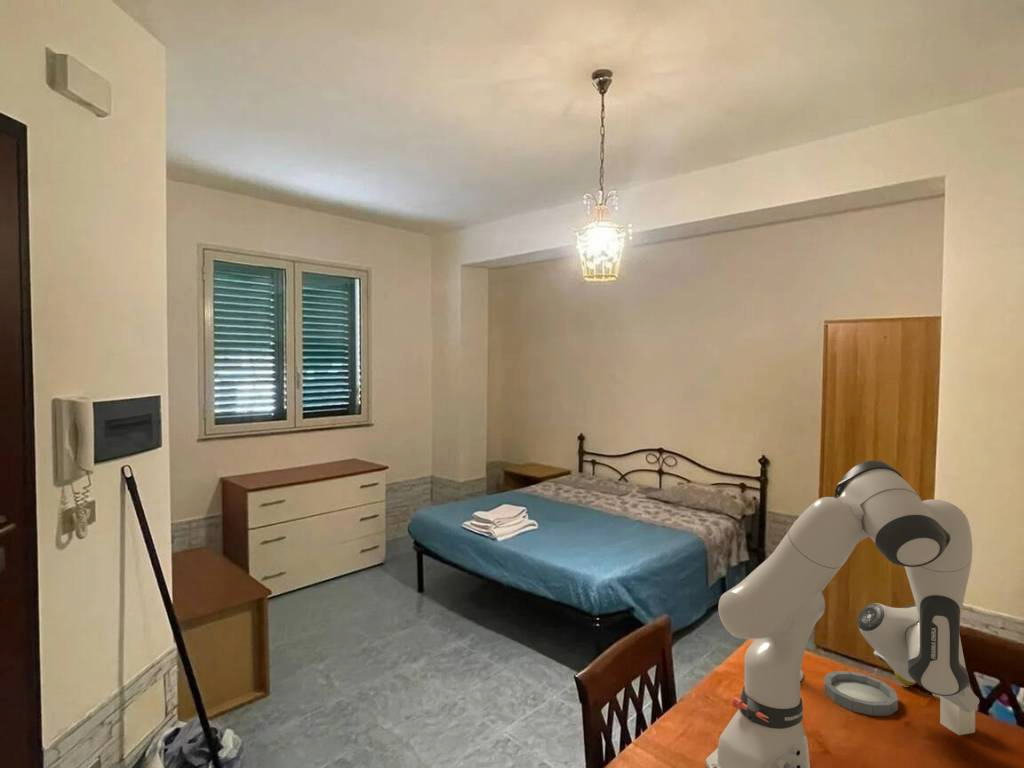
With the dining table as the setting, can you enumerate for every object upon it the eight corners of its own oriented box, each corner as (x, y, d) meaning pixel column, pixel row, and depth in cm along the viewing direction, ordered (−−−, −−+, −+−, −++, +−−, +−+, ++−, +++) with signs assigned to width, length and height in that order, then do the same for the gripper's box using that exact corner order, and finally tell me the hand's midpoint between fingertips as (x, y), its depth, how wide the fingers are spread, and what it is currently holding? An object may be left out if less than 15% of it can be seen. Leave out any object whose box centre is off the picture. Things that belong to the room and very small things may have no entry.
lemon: (911, 681, 154) (911, 652, 154) (923, 692, 148) (923, 662, 148) (889, 680, 155) (889, 651, 154) (901, 691, 149) (901, 661, 149)
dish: (877, 723, 135) (877, 712, 135) (812, 691, 149) (812, 682, 149) (909, 702, 144) (909, 692, 144) (844, 674, 157) (844, 665, 157)
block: (959, 735, 131) (959, 701, 131) (940, 723, 135) (940, 690, 135) (975, 732, 132) (975, 698, 132) (955, 720, 136) (955, 688, 136)
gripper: (963, 671, 120) (1001, 711, 122) (882, 630, 140) (915, 665, 142) (946, 695, 119) (984, 735, 121) (867, 650, 139) (901, 685, 141)
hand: (946, 697), depth 132 cm, fingers open, 8 cm apart
